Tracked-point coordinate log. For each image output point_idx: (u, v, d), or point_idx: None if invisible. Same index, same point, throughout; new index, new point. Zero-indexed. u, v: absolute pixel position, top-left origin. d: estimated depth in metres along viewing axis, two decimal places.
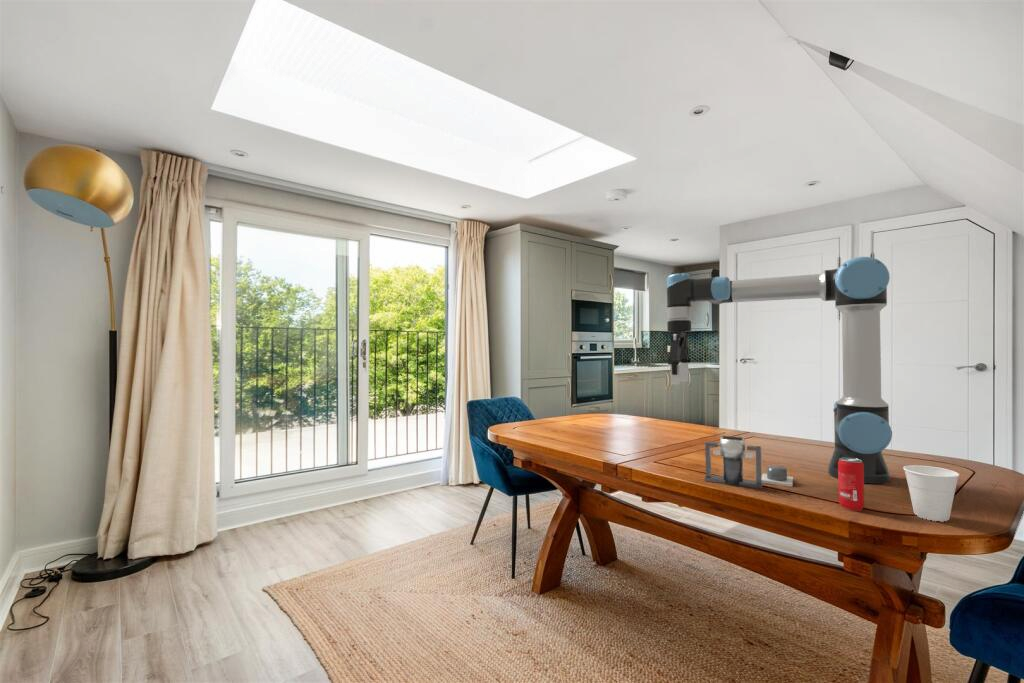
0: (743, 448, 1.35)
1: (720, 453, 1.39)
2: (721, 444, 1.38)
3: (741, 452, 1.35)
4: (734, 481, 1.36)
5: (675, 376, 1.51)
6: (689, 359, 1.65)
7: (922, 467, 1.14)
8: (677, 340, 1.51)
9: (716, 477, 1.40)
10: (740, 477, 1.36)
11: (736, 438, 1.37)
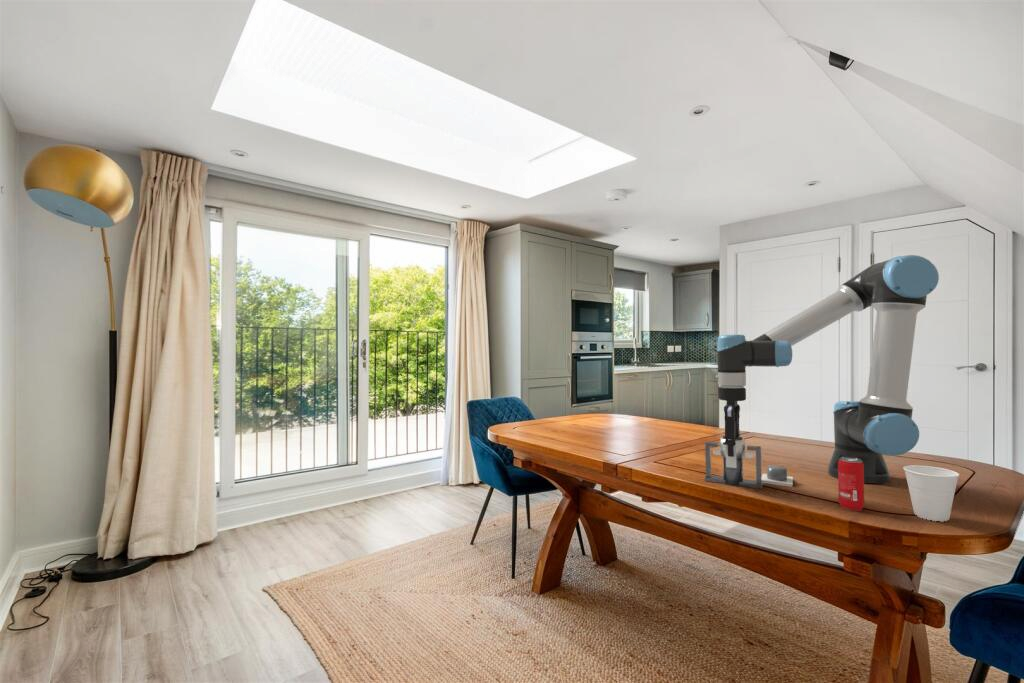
0: (743, 448, 1.35)
1: (720, 453, 1.39)
2: (721, 444, 1.38)
3: (741, 452, 1.35)
4: (734, 481, 1.36)
5: (731, 458, 1.35)
6: (739, 435, 1.43)
7: (922, 467, 1.14)
8: (732, 417, 1.32)
9: (716, 477, 1.40)
10: (740, 477, 1.36)
11: (736, 438, 1.37)
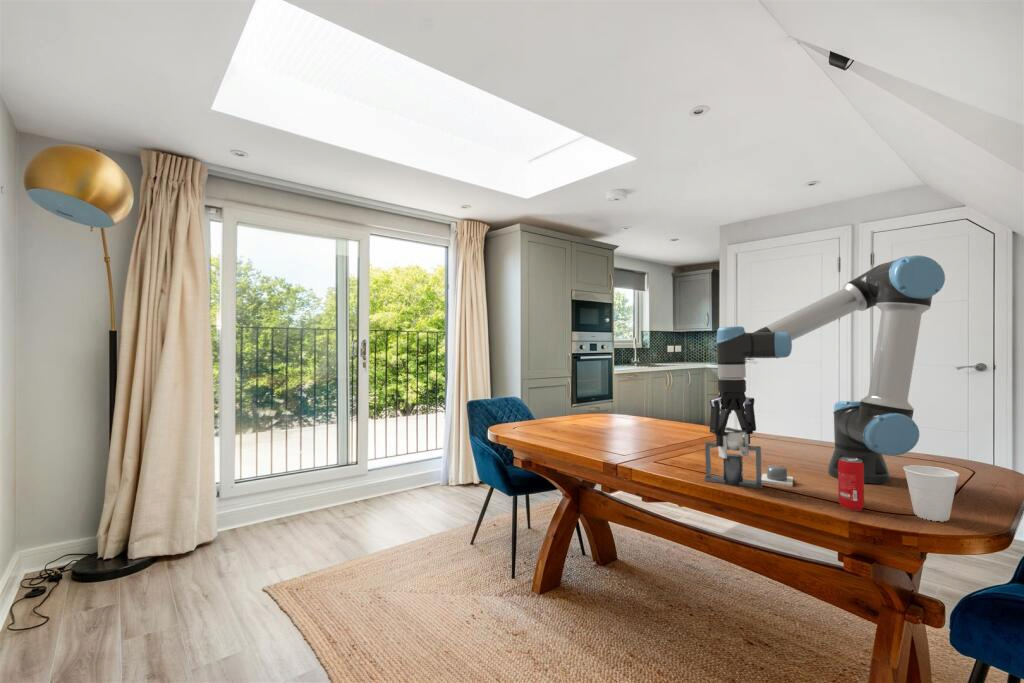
0: (736, 440, 1.35)
1: None
2: None
3: (732, 444, 1.35)
4: (734, 481, 1.36)
5: (721, 448, 1.37)
6: (754, 429, 1.38)
7: (922, 467, 1.14)
8: (715, 407, 1.36)
9: (716, 477, 1.40)
10: (740, 477, 1.36)
11: (734, 430, 1.37)
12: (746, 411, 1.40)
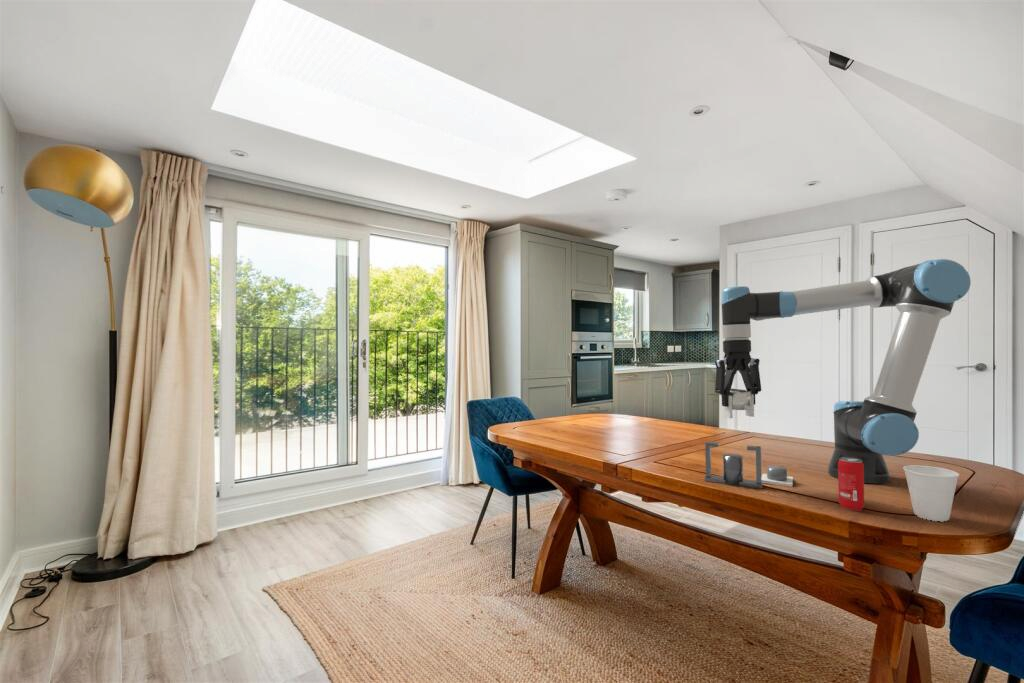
0: (741, 400, 1.35)
1: None
2: None
3: (738, 403, 1.35)
4: (734, 481, 1.36)
5: (727, 408, 1.37)
6: (759, 390, 1.39)
7: (922, 467, 1.14)
8: (720, 367, 1.36)
9: (716, 477, 1.40)
10: (740, 477, 1.36)
11: (739, 390, 1.37)
12: (751, 372, 1.40)
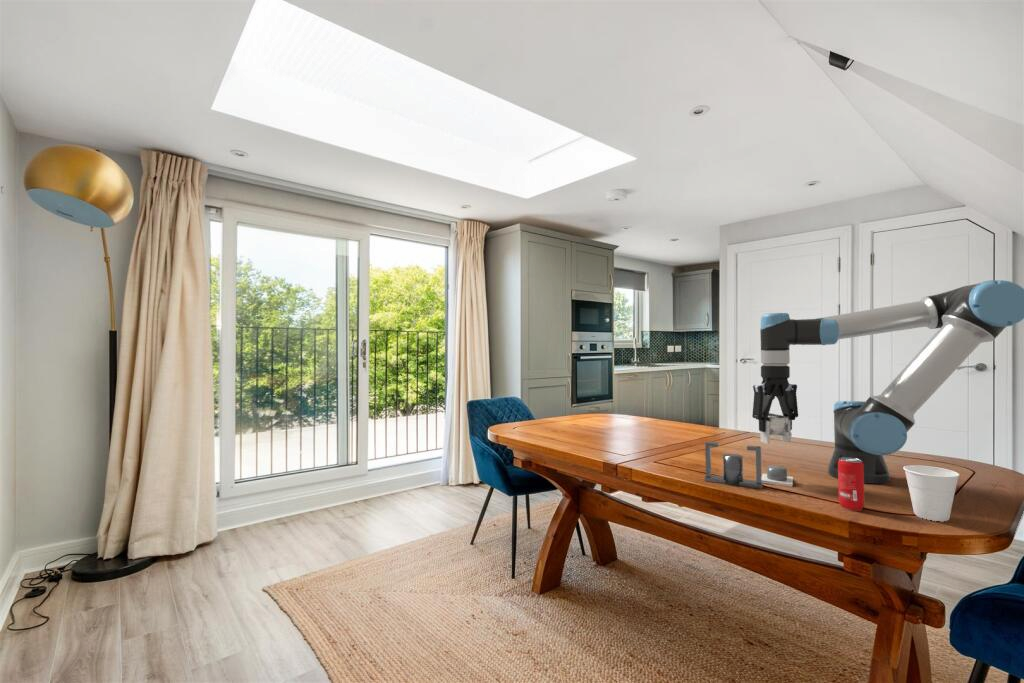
0: (779, 425, 1.36)
1: None
2: None
3: (775, 429, 1.36)
4: (734, 481, 1.36)
5: (764, 433, 1.38)
6: (796, 416, 1.40)
7: (922, 467, 1.14)
8: (759, 393, 1.37)
9: (716, 477, 1.40)
10: (740, 477, 1.36)
11: (777, 416, 1.38)
12: (788, 397, 1.41)
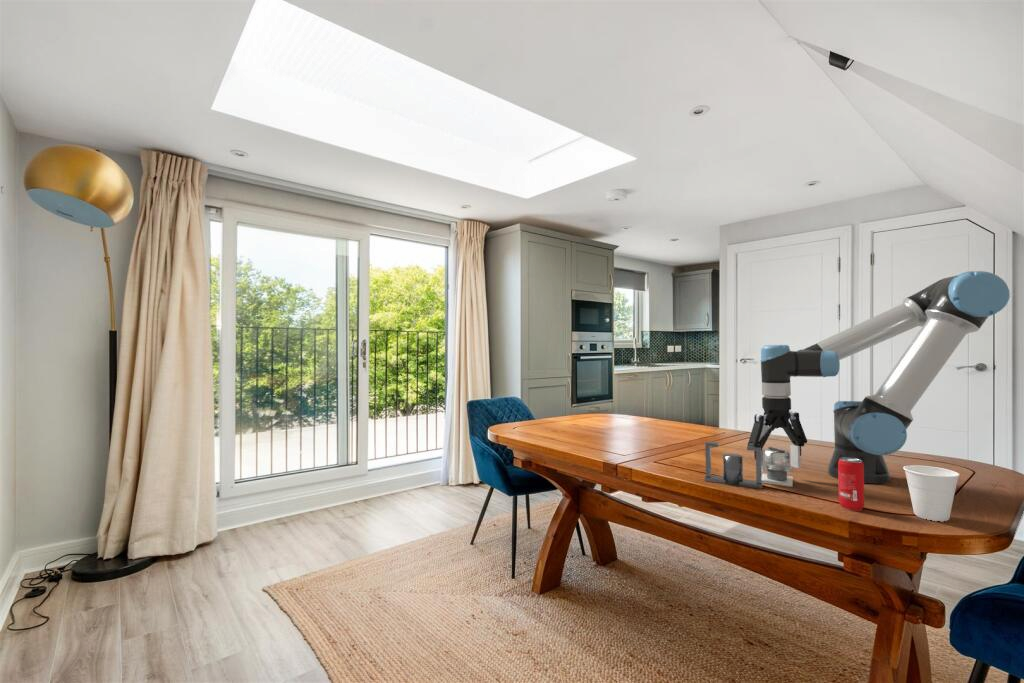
0: (780, 461, 1.36)
1: None
2: None
3: (777, 464, 1.36)
4: (734, 481, 1.36)
5: None
6: (805, 442, 1.40)
7: (922, 467, 1.14)
8: (759, 422, 1.37)
9: (716, 477, 1.40)
10: (740, 477, 1.36)
11: (778, 450, 1.38)
12: (793, 425, 1.42)
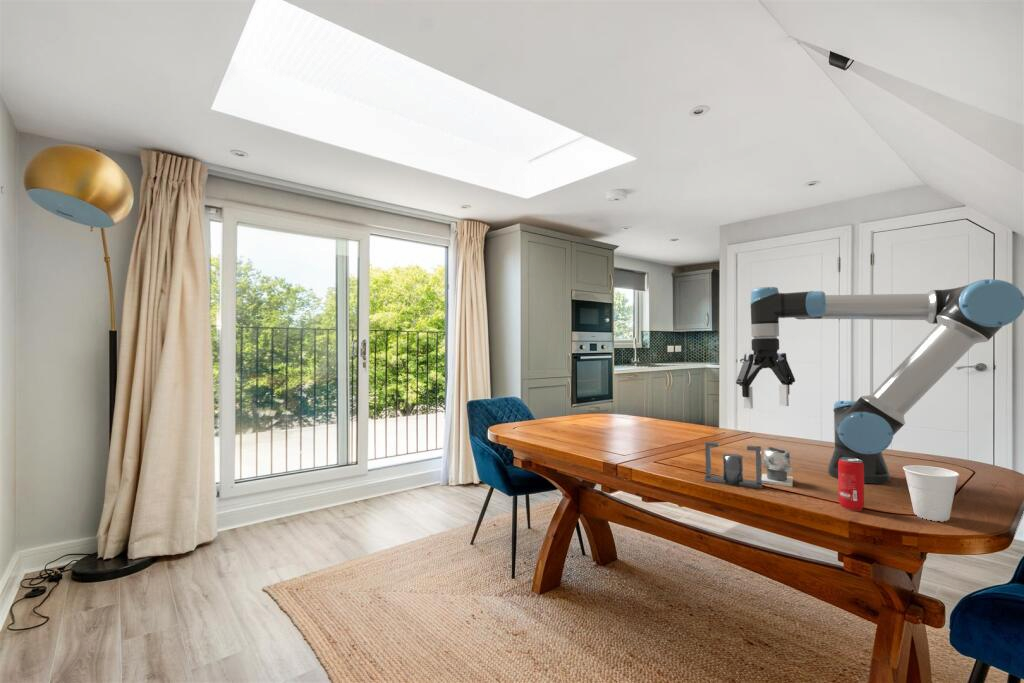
0: (780, 461, 1.36)
1: None
2: None
3: (777, 464, 1.36)
4: (734, 481, 1.36)
5: (747, 399, 1.42)
6: (793, 381, 1.45)
7: (922, 467, 1.14)
8: (749, 360, 1.41)
9: (716, 477, 1.40)
10: (740, 477, 1.36)
11: (778, 450, 1.38)
12: (781, 366, 1.46)
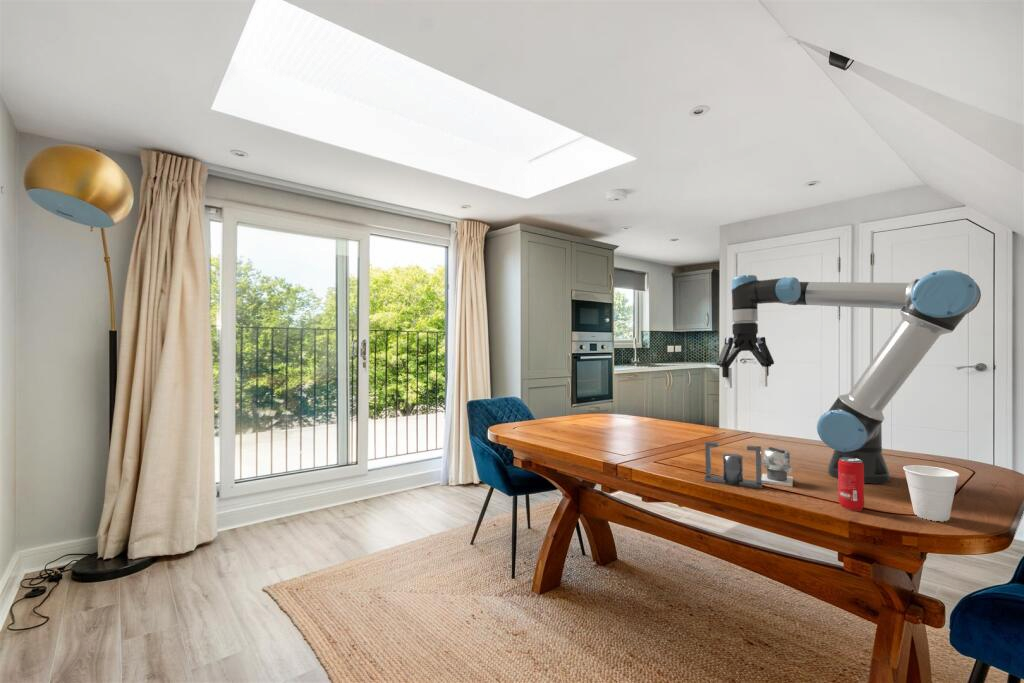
0: (780, 461, 1.36)
1: None
2: None
3: (777, 464, 1.36)
4: (734, 481, 1.36)
5: (727, 379, 1.52)
6: (772, 363, 1.55)
7: (922, 467, 1.14)
8: (728, 343, 1.52)
9: (716, 477, 1.40)
10: (740, 477, 1.36)
11: (778, 450, 1.38)
12: (761, 349, 1.56)
